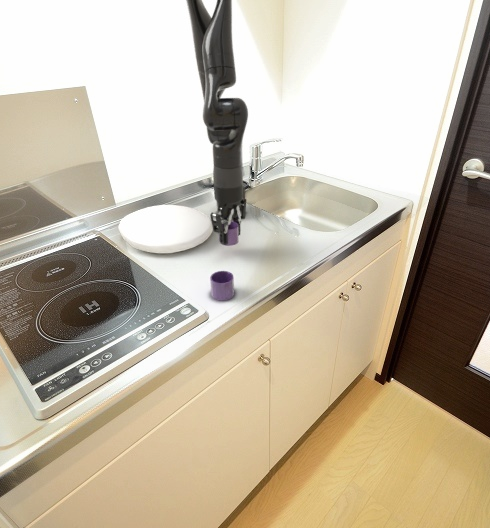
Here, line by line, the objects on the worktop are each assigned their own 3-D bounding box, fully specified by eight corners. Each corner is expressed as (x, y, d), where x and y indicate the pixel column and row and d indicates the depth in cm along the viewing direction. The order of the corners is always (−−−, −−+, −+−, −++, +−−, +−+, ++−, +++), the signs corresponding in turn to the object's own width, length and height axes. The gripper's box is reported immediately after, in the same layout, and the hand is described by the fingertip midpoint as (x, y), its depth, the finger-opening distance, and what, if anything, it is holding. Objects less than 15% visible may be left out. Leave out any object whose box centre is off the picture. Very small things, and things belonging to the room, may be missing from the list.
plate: (228, 216, 116) (173, 253, 97) (227, 233, 120) (174, 272, 100) (160, 190, 125) (96, 219, 106) (161, 207, 129) (100, 239, 109)
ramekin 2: (222, 284, 93) (221, 268, 90) (238, 292, 90) (238, 276, 88) (206, 295, 89) (205, 278, 87) (223, 303, 87) (222, 286, 84)
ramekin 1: (228, 234, 107) (227, 219, 105) (242, 240, 105) (242, 224, 102) (215, 241, 104) (214, 225, 101) (229, 247, 101) (229, 231, 98)
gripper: (231, 172, 101) (233, 226, 110) (199, 187, 91) (204, 246, 100) (255, 176, 98) (254, 232, 107) (223, 193, 88) (226, 253, 97)
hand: (230, 239), depth 103 cm, fingers closed on ramekin 1, 5 cm apart
